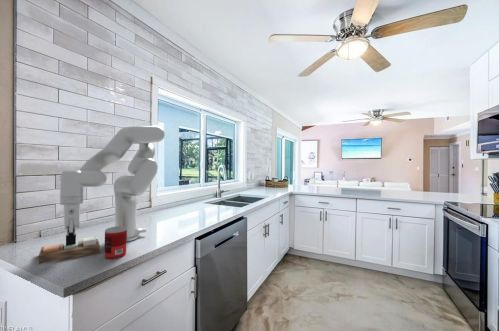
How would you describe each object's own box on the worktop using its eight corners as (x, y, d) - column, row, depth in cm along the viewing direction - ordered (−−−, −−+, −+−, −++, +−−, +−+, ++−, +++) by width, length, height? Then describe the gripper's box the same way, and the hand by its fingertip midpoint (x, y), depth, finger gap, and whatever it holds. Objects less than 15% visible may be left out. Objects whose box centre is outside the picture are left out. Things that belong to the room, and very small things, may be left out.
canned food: (129, 251, 98) (130, 226, 98) (119, 259, 90) (120, 231, 90) (111, 251, 97) (112, 225, 97) (100, 259, 89) (100, 231, 89)
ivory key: (95, 243, 101) (95, 236, 101) (96, 246, 97) (96, 239, 97) (82, 245, 98) (82, 238, 98) (83, 248, 95) (83, 241, 95)
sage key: (78, 248, 97) (78, 241, 97) (78, 252, 94) (78, 244, 94) (64, 250, 94) (64, 243, 94) (63, 254, 91) (63, 247, 91)
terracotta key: (59, 251, 93) (59, 244, 93) (58, 255, 90) (58, 247, 90) (44, 254, 91) (44, 246, 91) (42, 258, 87) (43, 250, 87)
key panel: (97, 245, 104) (97, 238, 104) (99, 252, 96) (99, 245, 96) (41, 254, 93) (41, 247, 93) (38, 264, 84) (38, 256, 84)
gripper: (83, 202, 90) (82, 248, 90) (82, 197, 102) (81, 238, 102) (59, 203, 86) (57, 252, 86) (60, 198, 97) (59, 241, 97)
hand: (70, 244), depth 94 cm, fingers closed
